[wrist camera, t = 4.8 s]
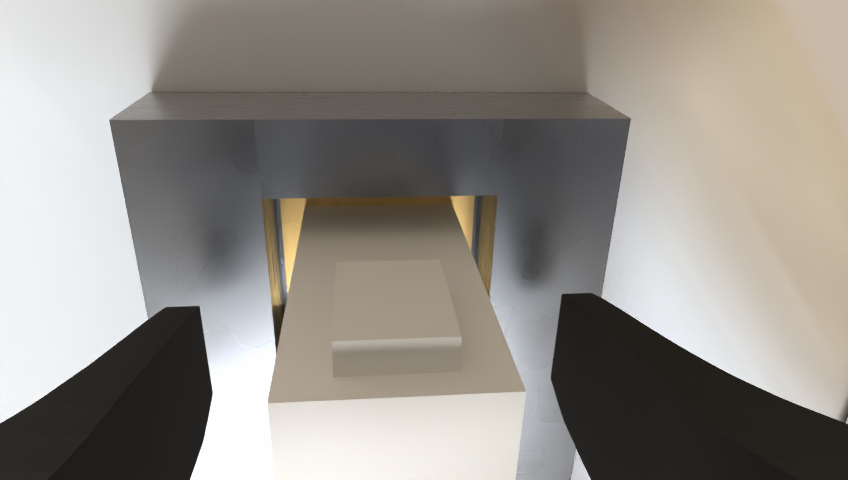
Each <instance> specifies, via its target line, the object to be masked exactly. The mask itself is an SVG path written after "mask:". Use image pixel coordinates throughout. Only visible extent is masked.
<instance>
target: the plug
mask: <svg viewBox="0 0 848 480" xmlns="http://www.w3.org/2000/svg"><path fill="white" fill-rule="evenodd" d="M525 397H526V390H525V387H524V385H523V382H522V380H521V377H520V375H519V372H518V369H517V367H516V364H515V362H514V359H513V357H512V354H511V352H510V349H509V347H508V344H507V342H506V339H505V337H504V334H503V331H502V329H501V326H500V324H499V321H498V319H497V316H496V314H495V311H494V309H493V306H492V304H491V301H490V298H489V296H488V293H487V291H486V288H485V286H484V283H483V281H482V278H481V276H480V273H479V271H478V268H477V266H476V263H475V260H474V258H473V255H472V253H471V250H470V248H469V245H468V243H467V240H466V238H465V235H464V233H463V230H462V227H461V225H460V222H459V220H458V217H457V215H456V212H455V210H454V207H453V205H452V204H447V205H369V206H305V209H304V214H303V219H302V224H301V230H300V235H299V240H298V245H297V250H296V255H295V261H294V266H293V271H292V276H291V281H290V287H289V292H288V297H287V302H286V307H285V312H284V318H283V323H282V328H281V333H280V338H279V344H278V349H277V354H276V359H275V364H274V369H273V375H272V380H271V385H270V390H269V395H268V400H267V409H268V419H269V429H270V439H271V449H272V458H273V468H274V478H275V480H516V471H517V463H518V455H519V447H520V438H521V430H522V422H523V414H524V406H525Z"/></svg>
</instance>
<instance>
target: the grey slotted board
mask: <svg viewBox="0 0 848 480" xmlns="http://www.w3.org/2000/svg"><path fill="white" fill-rule="evenodd" d="M630 120H631V118H629V117H627V116H626V115H624V114H622V113H620V112H619V111H617V110H615V109H614V108H612V107H610V106H609V105H607V104H605V103H604V102H602V101H600V100H599V99H597V98H595V97H594V96H592V95H590V94H588V93H270V92H150V93H148V94H147V95H145V96H144V97H142V98H141V99H139V100H138V101H136V102H135V103H134V104H132V105H131V106H129V107H128V108H126V109H125V110H123V111H122V112H120V113H119V114H117V115H116V116H114V117H113V118H111V119H110V120H109V121H110V126H111V131H112V136H113V141H114V146H115V151H116V156H117V162H118V167H119V172H120V177H121V182H122V187H123V192H124V197H125V203H126V208H127V213H128V218H129V223H130V228H131V233H132V238H133V243H134V249H135V254H136V259H137V264H138V269H139V274H140V279H141V284H142V290H143V295H144V300H145V305H146V310H147V315H148V319H150V318H151V317H152V316H154V315H155V314H156V313H158V312H159V311H161V310H162V309H164V308H165V307H179V306H200V312H201V319H202V325H203V332H204V338H205V345H206V351H207V358H208V365H209V371H210V378H211V384H212V391H213V396H212V402H211V407H210V412H209V417H208V422H207V427H206V432H205V436H204V441H203V444H202V447H201V450H200V453H199V456H198V459H197V462H196V465H195V468H194V470H193V473H192V476H191V479H190V480H275V478H274V468H273V458H272V449H271V439H270V429H269V419H268V409H267V400H268V395H269V390H270V385H271V380H272V375H273V369H274V364H275V359H276V354H277V349H278V344H279V338H280V333H281V328H282V323H283V318H284V312H285V307H286V302H287V297H288V292H289V287H290V281H291V276H292V271H293V266H294V261H295V255H296V250H297V245H298V240H299V235H300V230H301V224H302V219H303V214H304V209H305V206H369V205H447V204H452V205H453V207H454V210H455V212H456V215H457V217H458V220H459V222H460V225H461V227H462V230H463V233H464V235H465V238H466V240H467V243H468V245H469V248H470V250H471V253H472V255H473V258H474V260H475V263H476V266H477V268H478V271H479V273H480V276H481V278H482V281H483V283H484V286H485V288H486V291H487V293H488V296H489V298H490V301H491V304H492V306H493V309H494V311H495V314H496V316H497V319H498V321H499V324H500V326H501V329H502V331H503V334H504V337H505V339H506V342H507V344H508V347H509V349H510V352H511V354H512V357H513V359H514V362H515V364H516V367H517V369H518V372H519V375H520V377H521V380H522V382H523V385H524V387H525V390H526V397H525V406H524V414H523V422H522V430H521V438H520V447H519V455H518V463H517V471H516V480H571V474H572V468H573V462H574V456H575V450H576V447H575V445H574V442H573V440H572V438H571V436H570V434H569V432H568V429H567V427H566V425H565V423H564V420H563V417H562V414H561V411H560V408H559V405H558V402H557V398H556V395H555V391H554V388H553V385H552V381H551V370H552V363H553V356H554V348H555V341H556V333H557V326H558V319H559V311H560V304H561V297H562V294H574V293H593V294H595V295H597V296H599V297H601V294H602V288H603V282H604V276H605V270H606V264H607V258H608V252H609V246H610V240H611V234H612V228H613V222H614V216H615V210H616V204H617V198H618V192H619V186H620V180H621V174H622V168H623V162H624V156H625V150H626V144H627V138H628V132H629V126H630Z"/></svg>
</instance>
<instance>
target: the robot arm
mask: <svg viewBox="0 0 848 480" xmlns="http://www.w3.org/2000/svg"><path fill="white" fill-rule="evenodd" d="M551 381H552V385H553V388H554V391H555V395H556V398H557V402H558V405H559V408H560V411H561V414H562V417H563V420H564V423H565V425H566V427H567V429H568V432H569V434H570V436H571V438H572V440H573V442H574V445H575V447H576V449H577V451H578V453H579V455H580V457H581V459H582V462H583V464H584V466H585V468H586V470H587V472H588V474H589V476H590V478H591V480H848V418H847V420H846V423H844V422H841V421H838V420H836V419H833V418H830V417H828V416H825V415H823V414H820V413H817V412H815V411H812V410H809V409H807V408H804V407H802V406H799V405H797V404H794V403H792V402H789V401H787V400H785V399H782V398H780V397H778V396H775V395H773V394H771V393H769V392H767V391H764V390H762V389H760V388H758V387H756V386H754V385H752V384H749V383H747V382H745V381H743V380H741V379H739V378H737V377H735V376H733V375H731V374H729V373H727V372H725V371H723V370H721V369H719V368H717V367H716V366H714V365H712V364H710V363H708V362H706V361H705V360H703V359H701V358H699V357H697V356H696V355H694V354H692V353H690V352H689V351H687V350H685V349H683V348H682V347H680V346H678V345H677V344H675V343H673V342H672V341H670V340H668V339H667V338H665V337H663V336H662V335H660V334H659V333H657V332H655V331H654V330H652V329H651V328H649V327H647V326H646V325H644V324H643V323H641V322H639V321H638V320H636V319H635V318H633V317H632V316H630V315H628V314H627V313H625V312H624V311H622V310H620V309H619V308H617V307H616V306H614V305H612V304H611V303H609V302H607V301H606V300H604V299H602V298H601V297H599V296H597V295H595V294H593V293H574V294H562V297H561V304H560V311H559V319H558V326H557V333H556V341H555V348H554V356H553V363H552V370H551ZM212 396H213V391H212V384H211V378H210V371H209V365H208V358H207V351H206V345H205V338H204V332H203V325H202V319H201V312H200V306H179V307H165V308H164V309H162V310H161V311H159V312H158V313H156V314H155V315H154V316H152V317H151V318H150V319H148V320H147V321H146V322H144V323H143V324H142V325H141V326H139V327H138V328H137V329H135V330H134V331H133V332H132V333H130V334H129V335H128V336H127V337H125V338H124V339H123V340H121V341H120V342H119V343H117V344H116V345H115V346H114V347H112V348H111V349H110V350H108V351H107V352H106V353H104V354H103V355H102V356H101V357H99V358H98V359H97V360H95V361H94V362H93V363H91V364H90V365H89V366H87V367H86V368H84V369H83V370H81V371H80V372H79V373H77V374H76V375H74V376H73V377H71V378H70V379H68V380H67V381H66V382H64V383H63V384H61V385H60V386H58V387H57V388H56V389H54V390H53V391H51V392H50V393H48V394H47V395H46V396H44V397H43V398H41V399H40V400H38V401H36V402H35V403H33V404H32V405H30V406H29V407H27V408H25V409H24V410H22V411H21V412H19V413H17V414H16V415H14V416H12V417H11V418H9V419H7V420H5V421H4V422H2V423H0V480H190V479H191V476H192V473H193V470H194V468H195V465H196V462H197V459H198V456H199V453H200V450H201V447H202V444H203V441H204V436H205V432H206V427H207V422H208V417H209V412H210V407H211V402H212Z"/></svg>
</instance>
